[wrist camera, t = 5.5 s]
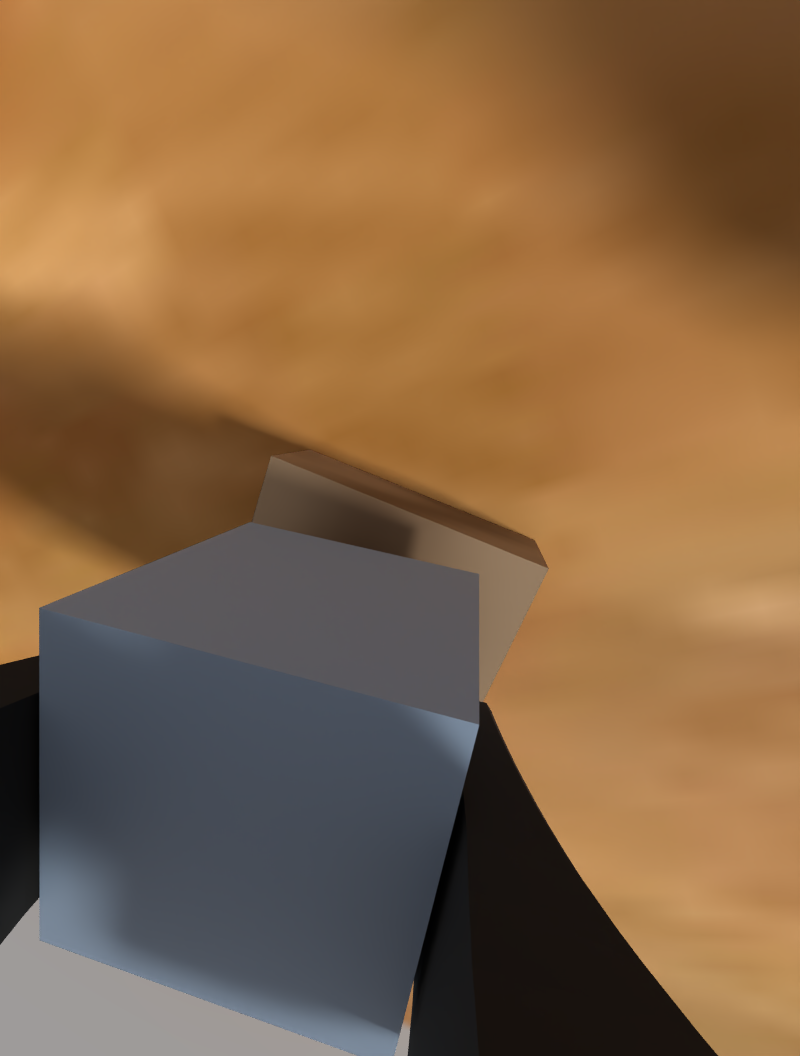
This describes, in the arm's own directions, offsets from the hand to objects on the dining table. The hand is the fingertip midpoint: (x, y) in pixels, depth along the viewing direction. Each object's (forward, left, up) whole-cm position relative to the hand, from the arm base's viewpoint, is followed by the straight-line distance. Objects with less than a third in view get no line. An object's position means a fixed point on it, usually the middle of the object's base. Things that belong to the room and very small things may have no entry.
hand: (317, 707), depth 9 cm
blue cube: (0, 0, -2) cm, 2 cm away
